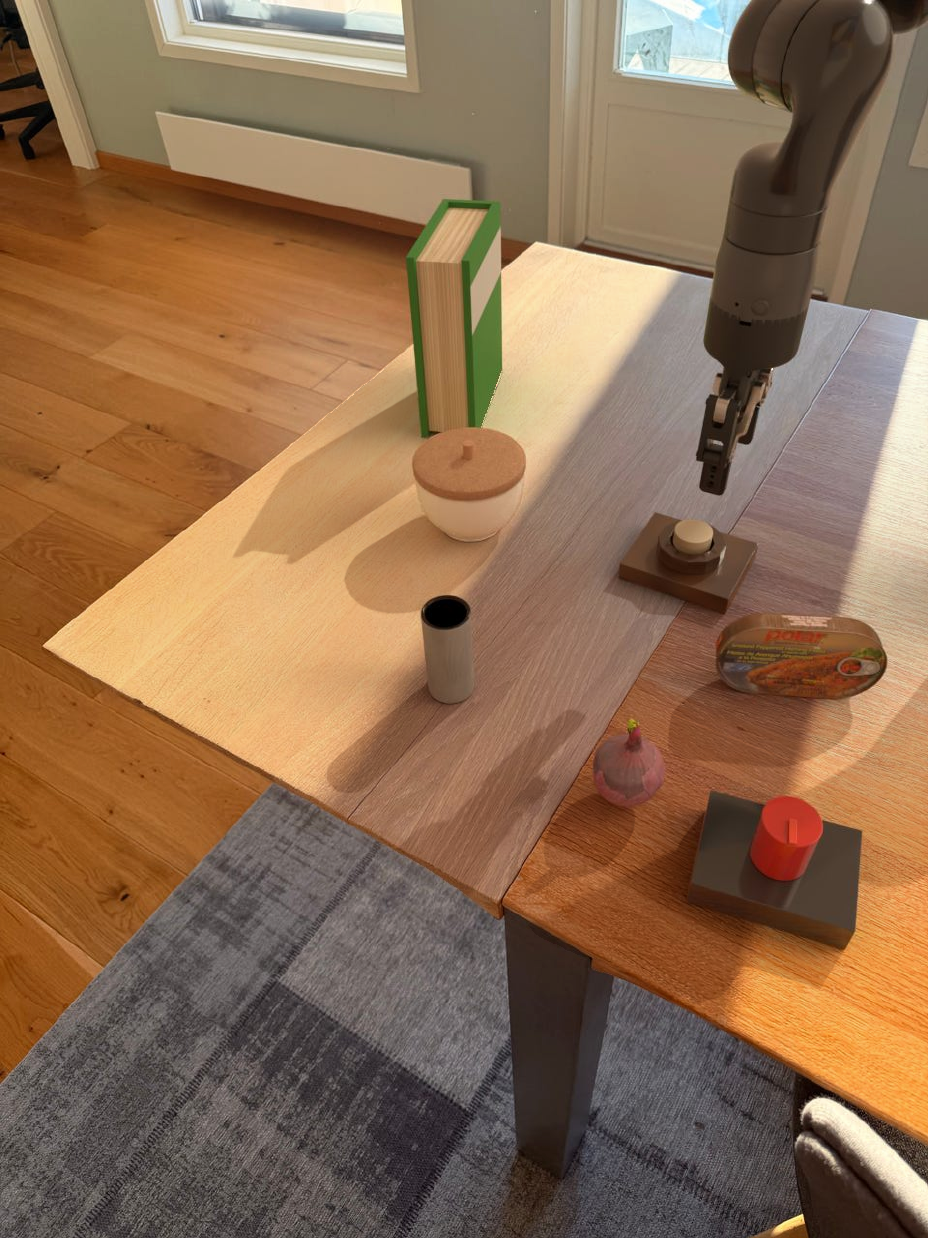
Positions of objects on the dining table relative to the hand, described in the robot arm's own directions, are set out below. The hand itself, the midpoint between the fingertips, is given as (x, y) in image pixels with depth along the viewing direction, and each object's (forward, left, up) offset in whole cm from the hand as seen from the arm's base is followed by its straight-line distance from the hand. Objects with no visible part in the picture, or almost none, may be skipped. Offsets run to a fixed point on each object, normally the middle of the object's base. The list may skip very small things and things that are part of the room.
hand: (726, 465), depth 82 cm
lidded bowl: (+28, -2, -18) cm, 34 cm away
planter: (+17, +21, -18) cm, 33 cm away
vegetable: (-3, +25, -18) cm, 31 cm away
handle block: (-16, +26, -18) cm, 36 cm away
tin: (-11, +6, -18) cm, 22 cm away
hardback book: (+42, -24, -18) cm, 52 cm away
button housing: (+3, -6, -18) cm, 19 cm away
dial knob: (-16, +26, -15) cm, 34 cm away
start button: (+3, -6, -15) cm, 16 cm away
